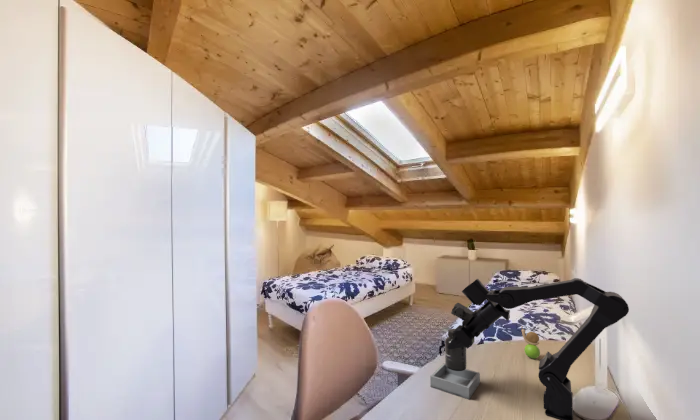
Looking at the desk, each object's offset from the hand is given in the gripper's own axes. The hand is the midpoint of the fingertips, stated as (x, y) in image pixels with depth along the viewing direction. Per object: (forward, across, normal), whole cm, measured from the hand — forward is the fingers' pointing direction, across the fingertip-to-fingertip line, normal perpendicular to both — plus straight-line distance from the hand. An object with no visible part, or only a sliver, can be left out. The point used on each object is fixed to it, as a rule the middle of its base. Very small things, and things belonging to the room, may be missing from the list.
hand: (451, 344), depth 108 cm
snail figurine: (-5, -39, +24) cm, 46 cm away
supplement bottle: (+4, 0, +6) cm, 7 cm away
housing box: (+8, 0, +10) cm, 13 cm away
